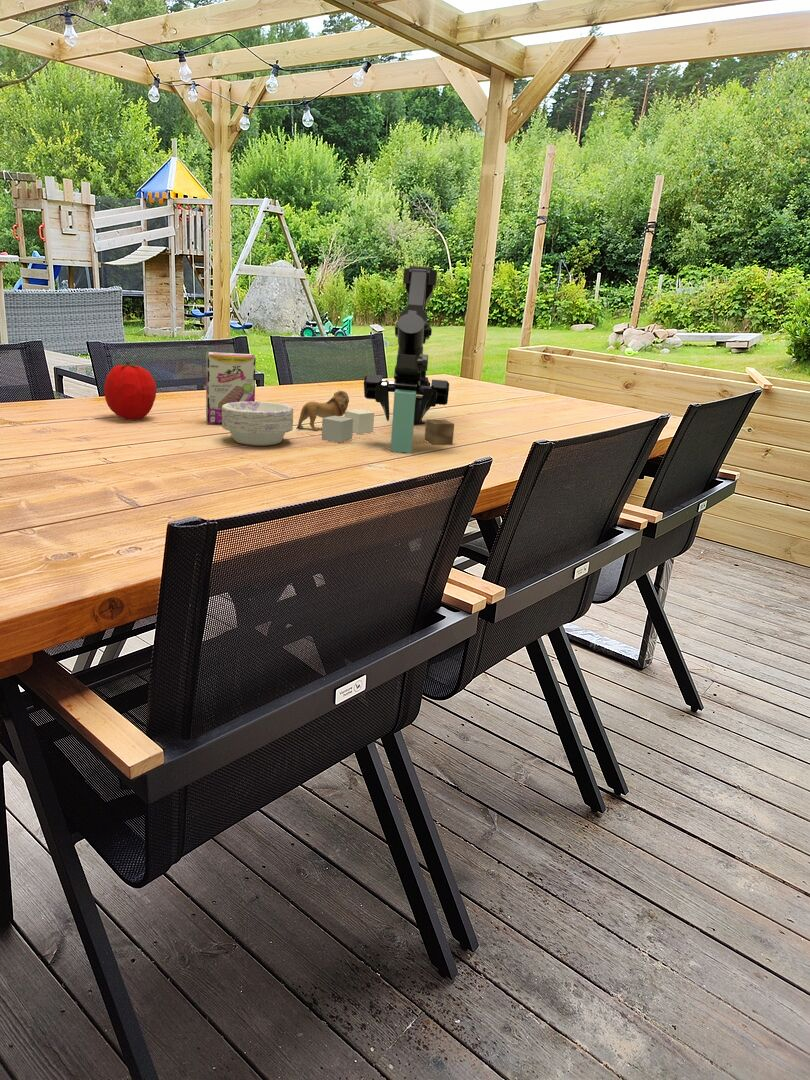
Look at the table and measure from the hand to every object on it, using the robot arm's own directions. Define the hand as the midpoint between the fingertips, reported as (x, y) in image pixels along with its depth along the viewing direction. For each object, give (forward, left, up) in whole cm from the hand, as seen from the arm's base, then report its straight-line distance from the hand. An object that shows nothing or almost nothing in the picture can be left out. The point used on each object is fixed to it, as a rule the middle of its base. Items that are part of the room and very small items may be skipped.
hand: (403, 421), depth 167 cm
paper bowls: (+25, -19, -7) cm, 32 cm away
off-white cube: (-3, -21, -7) cm, 22 cm away
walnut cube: (-15, -5, -7) cm, 17 cm away
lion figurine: (+3, -27, -7) cm, 28 cm away
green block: (-1, -1, -7) cm, 7 cm away
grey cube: (+7, -15, -7) cm, 18 cm away
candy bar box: (+22, -39, -7) cm, 45 cm away
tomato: (+42, -50, -7) cm, 66 cm away
